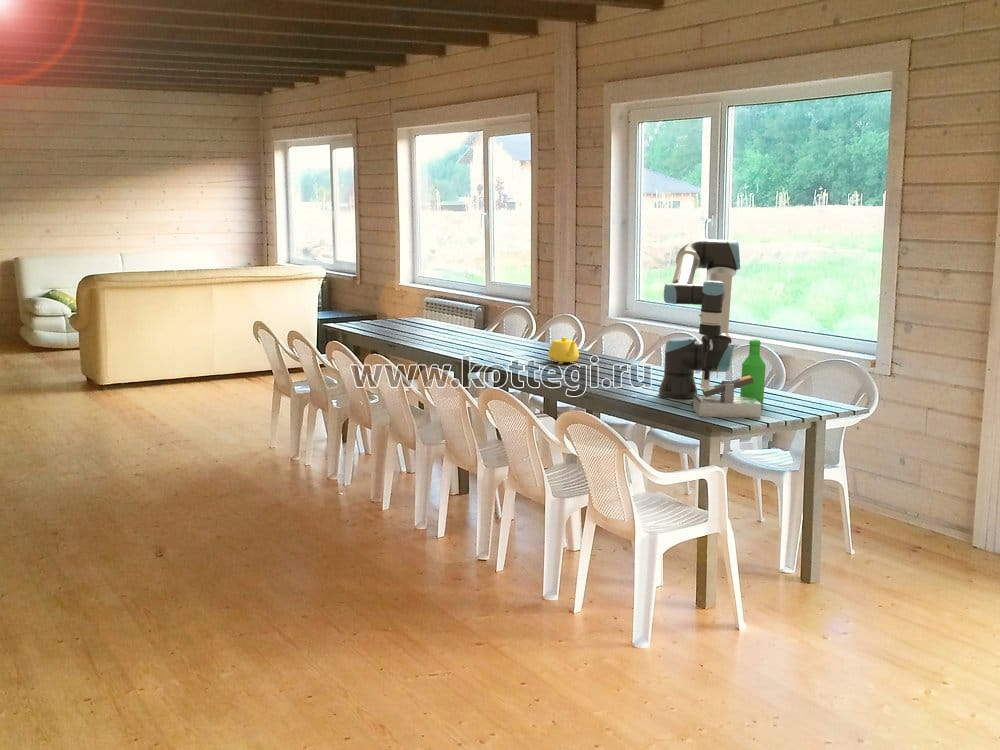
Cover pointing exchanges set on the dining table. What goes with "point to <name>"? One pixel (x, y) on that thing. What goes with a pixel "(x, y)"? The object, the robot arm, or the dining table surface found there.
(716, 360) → the robot arm
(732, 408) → the grey seesaw stand
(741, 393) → the bottle
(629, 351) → the dining table surface
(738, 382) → the rocker
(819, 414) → the dining table surface
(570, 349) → the teapot
